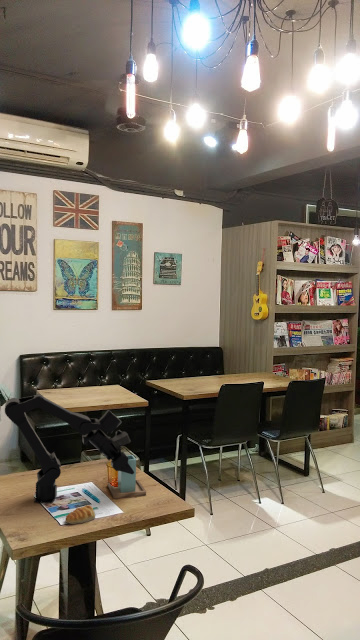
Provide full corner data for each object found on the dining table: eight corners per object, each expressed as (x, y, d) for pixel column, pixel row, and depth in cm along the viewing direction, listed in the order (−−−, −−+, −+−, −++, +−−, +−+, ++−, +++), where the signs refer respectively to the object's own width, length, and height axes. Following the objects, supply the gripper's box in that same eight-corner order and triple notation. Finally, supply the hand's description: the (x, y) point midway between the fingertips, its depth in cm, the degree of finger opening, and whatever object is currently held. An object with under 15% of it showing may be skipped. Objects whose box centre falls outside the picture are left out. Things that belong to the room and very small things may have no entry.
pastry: (72, 528, 153) (72, 516, 153) (60, 520, 158) (61, 509, 158) (97, 519, 160) (97, 507, 160) (85, 512, 165) (85, 501, 164)
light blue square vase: (120, 492, 180) (121, 460, 179) (117, 487, 185) (118, 456, 184) (135, 491, 182) (136, 459, 181) (131, 485, 187) (132, 454, 186)
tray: (113, 498, 176) (113, 494, 176) (107, 486, 187) (107, 482, 187) (146, 495, 180) (146, 491, 179) (137, 483, 191) (138, 479, 191)
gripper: (123, 432, 172) (152, 461, 176) (112, 419, 190) (139, 445, 194) (100, 456, 170) (130, 484, 174) (91, 441, 187) (119, 466, 191)
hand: (130, 469), depth 183 cm, fingers open, 9 cm apart
